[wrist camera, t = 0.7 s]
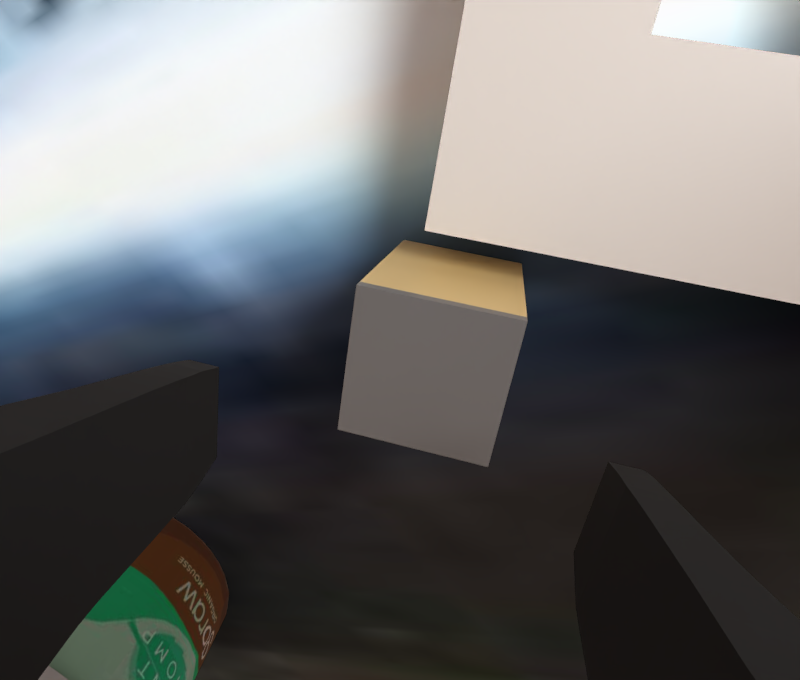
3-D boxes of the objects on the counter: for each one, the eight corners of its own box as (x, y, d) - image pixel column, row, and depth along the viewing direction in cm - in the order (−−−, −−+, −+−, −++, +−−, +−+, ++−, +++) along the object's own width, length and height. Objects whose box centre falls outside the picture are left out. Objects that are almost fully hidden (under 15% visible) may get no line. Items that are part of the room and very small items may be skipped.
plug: (521, 263, 17) (527, 321, 12) (494, 370, 19) (487, 466, 13) (404, 239, 18) (356, 284, 12) (387, 346, 19) (337, 429, 14)
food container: (291, 655, 26) (174, 932, 17) (193, 663, 28) (40, 918, 19) (181, 451, 23) (-40, 660, 14) (77, 475, 25) (-178, 674, 15)
